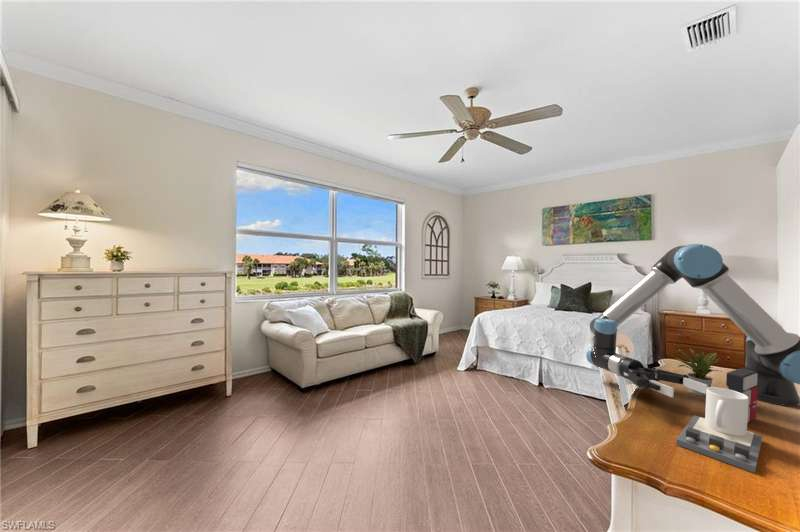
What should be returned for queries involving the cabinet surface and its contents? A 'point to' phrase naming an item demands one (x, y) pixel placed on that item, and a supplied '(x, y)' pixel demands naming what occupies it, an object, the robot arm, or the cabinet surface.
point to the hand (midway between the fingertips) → (690, 391)
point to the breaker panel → (726, 450)
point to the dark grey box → (745, 387)
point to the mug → (726, 411)
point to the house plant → (699, 369)
